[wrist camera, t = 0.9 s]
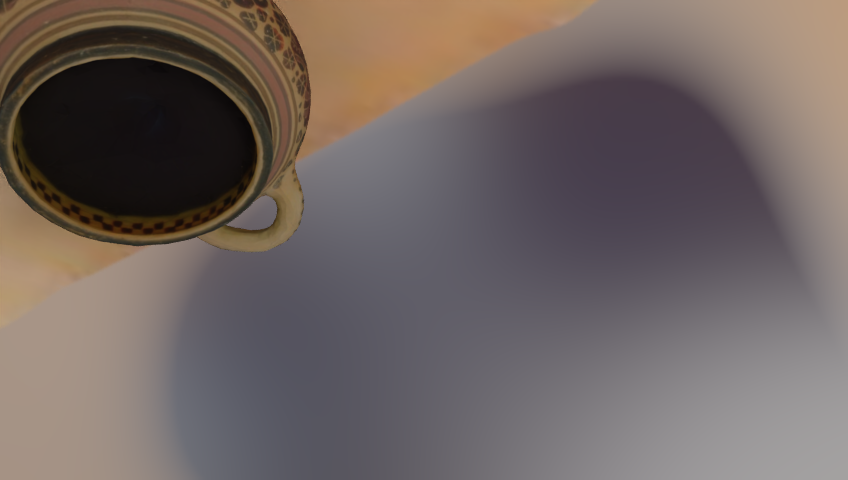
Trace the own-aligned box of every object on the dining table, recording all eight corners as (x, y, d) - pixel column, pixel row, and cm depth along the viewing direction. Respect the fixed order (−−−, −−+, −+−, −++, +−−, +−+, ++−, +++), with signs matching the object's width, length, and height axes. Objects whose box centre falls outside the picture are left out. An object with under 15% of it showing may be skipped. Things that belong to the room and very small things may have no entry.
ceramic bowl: (-92, -111, 43) (-246, 66, 34) (159, -263, 37) (53, -95, 27) (193, 171, 60) (142, 339, 51) (397, 101, 54) (382, 279, 45)
